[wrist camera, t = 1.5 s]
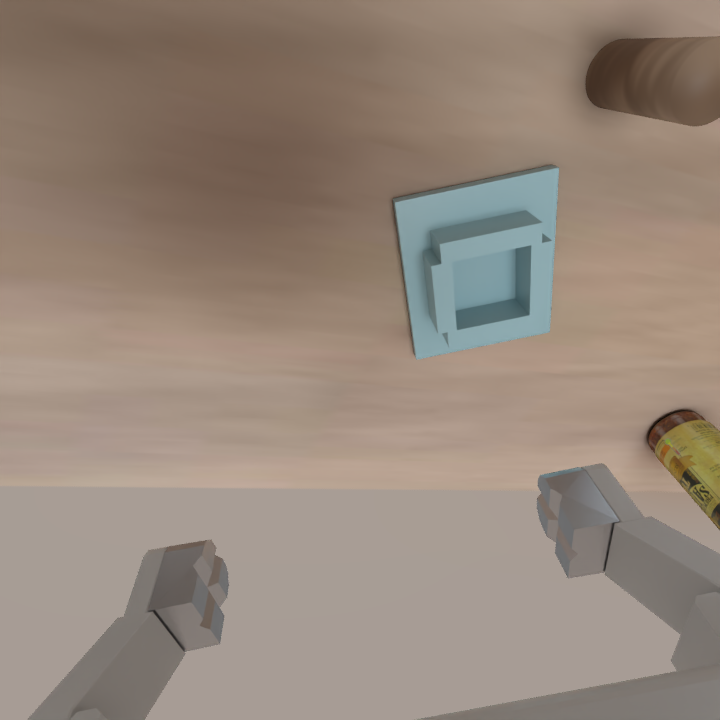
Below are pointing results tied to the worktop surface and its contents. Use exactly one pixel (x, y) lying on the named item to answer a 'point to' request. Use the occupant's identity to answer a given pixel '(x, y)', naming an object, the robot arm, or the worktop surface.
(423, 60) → the worktop surface
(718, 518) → the sauce bottle
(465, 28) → the worktop surface
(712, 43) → the brown cylinder
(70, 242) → the worktop surface
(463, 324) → the holder
